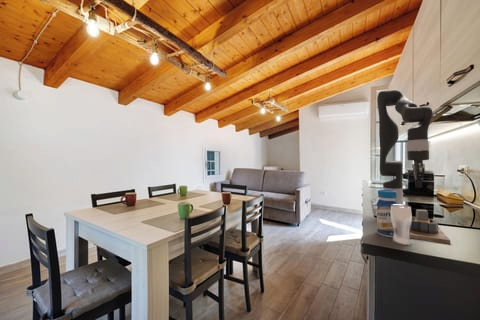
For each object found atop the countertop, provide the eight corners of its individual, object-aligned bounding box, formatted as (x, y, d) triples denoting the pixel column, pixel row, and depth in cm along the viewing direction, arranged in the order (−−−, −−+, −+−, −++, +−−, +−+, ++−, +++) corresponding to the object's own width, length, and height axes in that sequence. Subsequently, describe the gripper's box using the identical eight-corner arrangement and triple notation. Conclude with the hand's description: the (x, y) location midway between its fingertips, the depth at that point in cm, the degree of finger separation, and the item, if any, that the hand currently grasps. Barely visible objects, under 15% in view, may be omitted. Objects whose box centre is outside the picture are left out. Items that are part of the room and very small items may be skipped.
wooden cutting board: (400, 224, 104) (400, 221, 104) (437, 229, 96) (437, 226, 96) (405, 237, 87) (405, 233, 87) (450, 244, 79) (450, 240, 79)
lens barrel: (406, 224, 99) (405, 215, 99) (434, 228, 93) (434, 218, 93) (408, 231, 90) (408, 221, 90) (440, 235, 84) (440, 224, 84)
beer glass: (391, 237, 87) (390, 203, 87) (412, 241, 83) (411, 205, 83) (390, 242, 82) (389, 206, 82) (413, 247, 77) (411, 208, 77)
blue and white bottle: (404, 236, 88) (403, 191, 88) (390, 239, 85) (389, 192, 85) (385, 230, 96) (384, 188, 96) (372, 232, 93) (371, 190, 94)
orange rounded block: (413, 227, 95) (412, 208, 95) (426, 228, 93) (426, 209, 93) (418, 231, 90) (417, 211, 90) (432, 232, 88) (431, 212, 88)
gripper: (405, 150, 100) (406, 185, 100) (409, 150, 89) (410, 188, 89) (425, 150, 96) (426, 185, 96) (432, 149, 85) (433, 189, 85)
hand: (418, 187), depth 92 cm, fingers closed
